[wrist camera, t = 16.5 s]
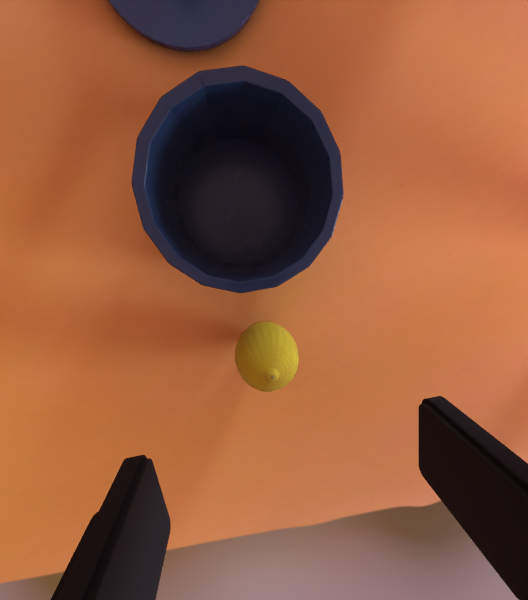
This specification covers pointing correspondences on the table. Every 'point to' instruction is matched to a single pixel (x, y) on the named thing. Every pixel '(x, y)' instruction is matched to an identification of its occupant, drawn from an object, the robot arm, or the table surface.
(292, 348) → the lemon
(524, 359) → the table surface
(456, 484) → the robot arm
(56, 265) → the table surface
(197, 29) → the lid
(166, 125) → the pail
